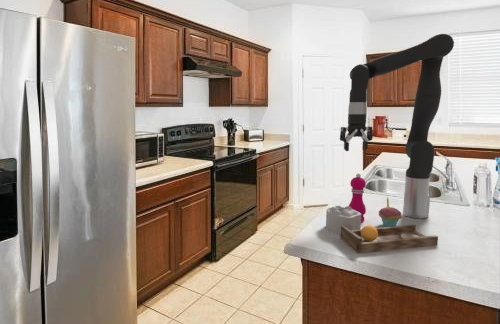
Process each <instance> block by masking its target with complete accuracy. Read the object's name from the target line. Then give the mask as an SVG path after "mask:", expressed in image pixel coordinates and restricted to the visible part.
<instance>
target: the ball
mask: <svg viewBox="0 0 500 324" xmlns="http://www.w3.org/2000/svg"><path fill="white" fill-rule="evenodd" d="M376 228H377V227H375V226H373V225H371V224H367V225H364V226H363V227H362V228H360V229H361V236H362V238H363V239H364V240H365V241H368V242H372V241H374V240H376V238H377V237H378V231H377V229H376Z"/></svg>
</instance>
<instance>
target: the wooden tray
mask: <svg viewBox="0 0 500 324" xmlns="http://www.w3.org/2000/svg"><path fill="white" fill-rule="evenodd" d="M375 228H376V229H377V231H378V237H377V238H376V240H374V241H372V242H368V241H365V240H364V239H363V238H362V236H361V229H362V228H360V229H359V230H350V229H348V228H347V227H345V226H341V235H340V240H341V241H342V242H343V243H344V244H346V245H347V246H348V247H350V249H352V250H353V251H355V252H356V253H357V254H363V253H364V254H365V253H372V252H373V253H374V252H382V251H391V250H402V249H410V248H418V247H419V248H421V247H429V246H437V245H438V241H439V236H437V235H436V234H435V235H434V234H433V235H425V234H423V233H421V232H419V231H418V230H417V225H416V224H405V225H396V226H393V227H387V226H384V227H375Z"/></svg>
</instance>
